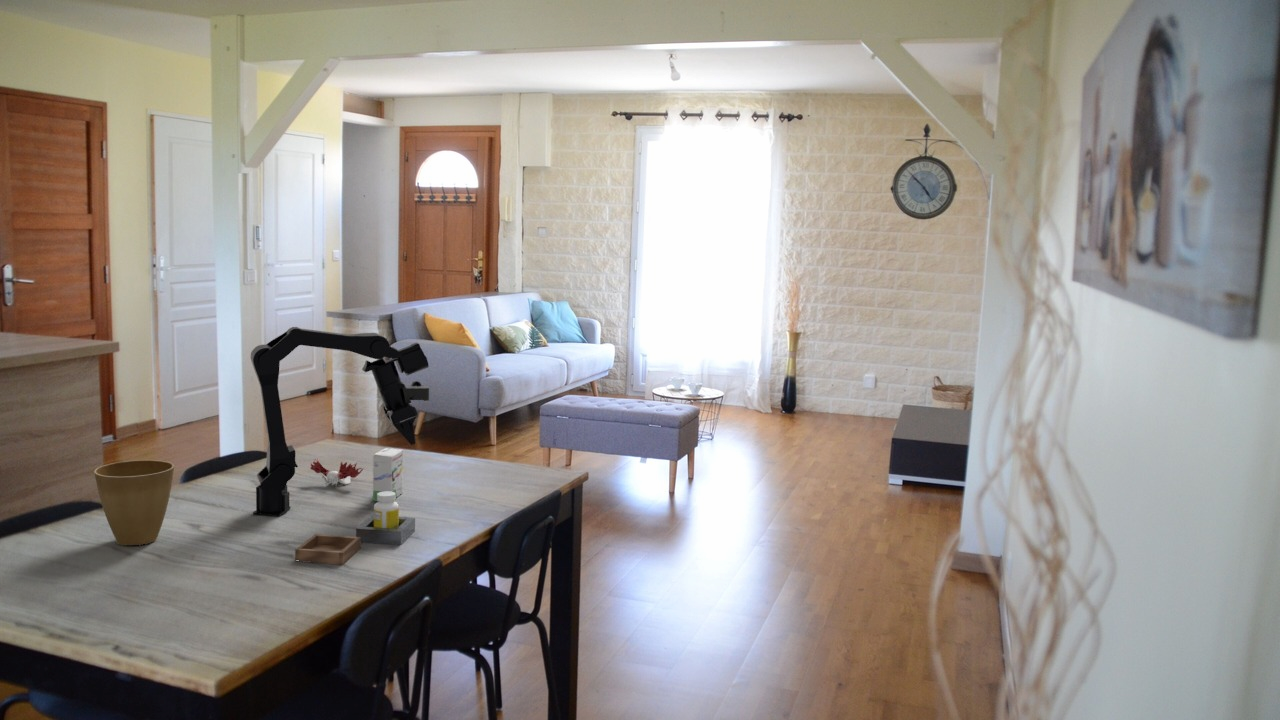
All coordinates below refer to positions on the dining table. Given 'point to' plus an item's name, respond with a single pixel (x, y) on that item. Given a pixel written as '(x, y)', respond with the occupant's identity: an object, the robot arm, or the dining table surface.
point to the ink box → (388, 471)
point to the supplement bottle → (386, 511)
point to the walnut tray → (328, 549)
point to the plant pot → (135, 498)
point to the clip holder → (386, 531)
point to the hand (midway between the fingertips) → (410, 440)
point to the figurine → (337, 473)
